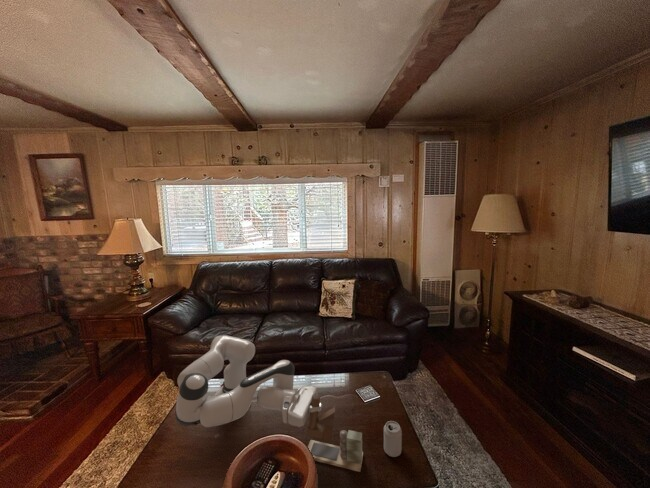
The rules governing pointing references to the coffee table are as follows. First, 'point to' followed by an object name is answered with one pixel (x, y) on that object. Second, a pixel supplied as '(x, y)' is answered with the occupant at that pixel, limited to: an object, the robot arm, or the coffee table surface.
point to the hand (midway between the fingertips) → (321, 407)
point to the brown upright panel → (320, 421)
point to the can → (392, 438)
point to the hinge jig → (340, 451)
